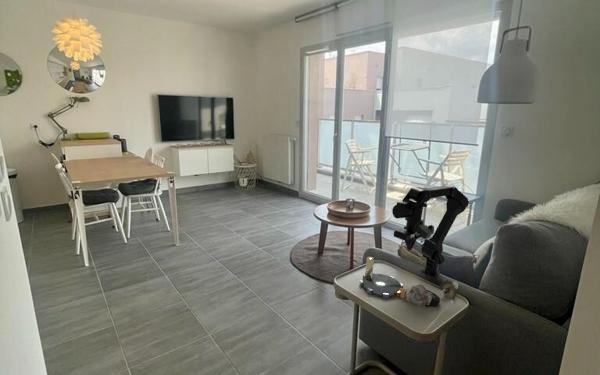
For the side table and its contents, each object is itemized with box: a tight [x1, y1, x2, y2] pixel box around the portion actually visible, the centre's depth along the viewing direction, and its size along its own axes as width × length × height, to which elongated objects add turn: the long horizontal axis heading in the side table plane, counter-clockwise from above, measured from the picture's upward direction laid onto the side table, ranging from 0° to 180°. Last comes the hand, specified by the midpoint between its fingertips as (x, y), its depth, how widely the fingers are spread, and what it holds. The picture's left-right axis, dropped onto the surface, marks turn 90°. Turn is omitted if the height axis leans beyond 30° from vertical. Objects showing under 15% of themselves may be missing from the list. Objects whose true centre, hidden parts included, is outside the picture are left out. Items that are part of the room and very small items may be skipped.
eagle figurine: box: [439, 277, 459, 301], centre depth 134 cm, size 8×7×9 cm
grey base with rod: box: [359, 256, 404, 300], centre depth 135 cm, size 17×17×11 cm
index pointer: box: [399, 288, 408, 299], centre depth 129 cm, size 2×2×4 cm
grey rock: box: [405, 284, 441, 308], centre depth 127 cm, size 7×11×10 cm
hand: (409, 250), depth 144 cm, fingers closed
